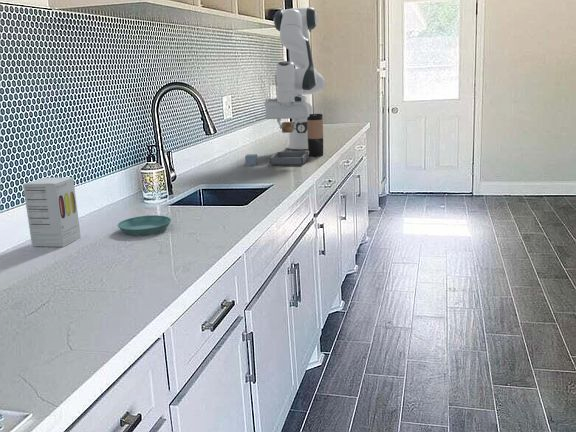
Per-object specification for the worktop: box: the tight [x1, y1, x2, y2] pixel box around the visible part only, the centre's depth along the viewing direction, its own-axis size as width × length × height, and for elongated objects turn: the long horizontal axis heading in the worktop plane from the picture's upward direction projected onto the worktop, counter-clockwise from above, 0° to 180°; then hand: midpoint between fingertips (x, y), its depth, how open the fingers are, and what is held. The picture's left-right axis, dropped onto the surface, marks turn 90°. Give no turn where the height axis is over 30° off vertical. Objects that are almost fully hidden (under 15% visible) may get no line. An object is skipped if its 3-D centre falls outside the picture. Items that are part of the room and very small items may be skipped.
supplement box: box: [22, 176, 82, 248], centre depth 155 cm, size 10×9×17 cm
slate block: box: [244, 153, 258, 166], centre depth 269 cm, size 4×4×4 cm
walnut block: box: [281, 121, 294, 134], centre depth 271 cm, size 4×4×4 cm
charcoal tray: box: [269, 150, 309, 167], centre depth 271 cm, size 19×15×4 cm
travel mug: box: [307, 113, 324, 158], centre depth 285 cm, size 8×8×20 cm
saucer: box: [116, 214, 172, 236], centre depth 165 cm, size 15×15×3 cm
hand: (287, 128), depth 271 cm, fingers closed on walnut block, 4 cm apart
